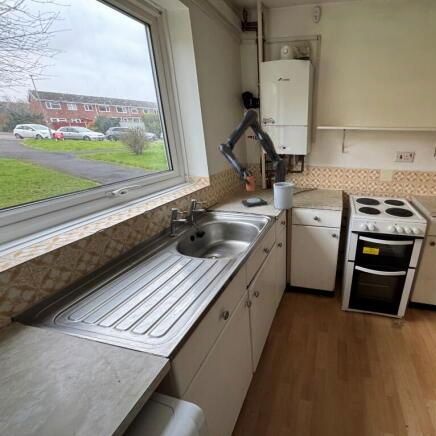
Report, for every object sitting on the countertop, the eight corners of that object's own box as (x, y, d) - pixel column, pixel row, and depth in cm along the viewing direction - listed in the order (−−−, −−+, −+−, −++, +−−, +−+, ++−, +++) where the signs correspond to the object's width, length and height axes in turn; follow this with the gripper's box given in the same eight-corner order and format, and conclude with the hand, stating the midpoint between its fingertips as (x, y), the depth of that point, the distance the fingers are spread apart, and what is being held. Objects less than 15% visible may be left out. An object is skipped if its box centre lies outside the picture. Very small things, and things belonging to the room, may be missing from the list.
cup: (253, 188, 175) (252, 175, 171) (256, 190, 170) (255, 176, 166) (245, 189, 172) (244, 176, 168) (248, 191, 167) (247, 177, 163)
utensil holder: (297, 207, 173) (297, 184, 167) (280, 211, 166) (279, 187, 160) (287, 203, 185) (287, 181, 179) (270, 206, 177) (269, 183, 172)
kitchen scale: (260, 200, 194) (260, 197, 193) (267, 204, 182) (267, 201, 181) (241, 203, 186) (241, 199, 185) (247, 207, 175) (247, 203, 174)
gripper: (234, 163, 162) (248, 182, 160) (247, 161, 174) (260, 178, 172) (229, 171, 166) (243, 188, 165) (242, 168, 178) (255, 185, 176)
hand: (252, 183), depth 168 cm, fingers closed on cup, 6 cm apart
